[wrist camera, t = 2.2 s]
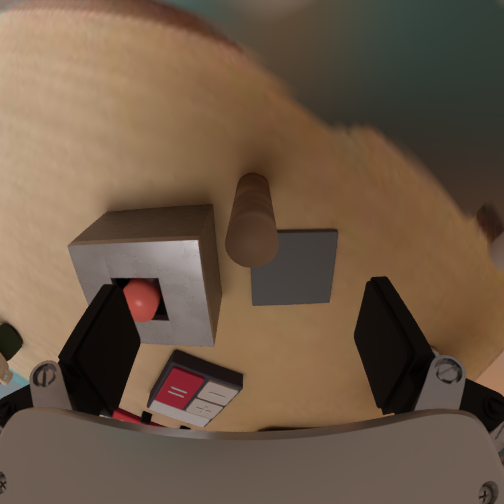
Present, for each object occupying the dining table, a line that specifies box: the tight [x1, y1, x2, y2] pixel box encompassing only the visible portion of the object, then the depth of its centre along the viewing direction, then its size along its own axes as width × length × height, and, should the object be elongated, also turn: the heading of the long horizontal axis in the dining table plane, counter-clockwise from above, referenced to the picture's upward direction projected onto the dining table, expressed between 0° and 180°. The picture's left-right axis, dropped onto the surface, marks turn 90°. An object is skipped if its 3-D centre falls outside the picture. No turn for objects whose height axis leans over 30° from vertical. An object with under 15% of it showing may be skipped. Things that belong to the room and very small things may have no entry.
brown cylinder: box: [225, 173, 279, 268], centre depth 21 cm, size 3×3×12 cm
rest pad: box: [251, 230, 338, 306], centre depth 30 cm, size 9×9×1 cm
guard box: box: [68, 205, 222, 347], centre depth 27 cm, size 12×11×8 cm
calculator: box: [147, 350, 243, 427], centre depth 40 cm, size 11×4×15 cm
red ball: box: [123, 278, 163, 322], centre depth 23 cm, size 3×3×3 cm
